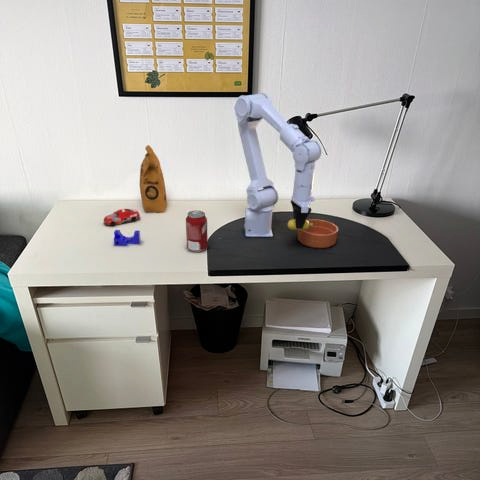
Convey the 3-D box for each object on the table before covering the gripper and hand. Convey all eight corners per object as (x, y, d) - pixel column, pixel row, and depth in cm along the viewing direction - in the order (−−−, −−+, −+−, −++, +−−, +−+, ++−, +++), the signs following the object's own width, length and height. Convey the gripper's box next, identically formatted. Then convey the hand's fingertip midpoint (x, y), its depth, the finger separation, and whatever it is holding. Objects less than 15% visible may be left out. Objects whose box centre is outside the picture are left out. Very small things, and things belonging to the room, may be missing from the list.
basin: (300, 249, 146) (302, 235, 143) (294, 232, 157) (296, 219, 154) (339, 249, 147) (341, 235, 144) (331, 232, 157) (333, 219, 155)
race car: (107, 228, 154) (105, 217, 152) (101, 222, 158) (100, 212, 156) (142, 220, 160) (140, 210, 158) (136, 215, 164) (135, 205, 162)
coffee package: (140, 213, 166) (133, 153, 153) (142, 201, 176) (136, 144, 163) (166, 213, 167) (162, 153, 154) (167, 201, 177) (163, 144, 164)
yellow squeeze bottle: (287, 231, 140) (288, 221, 138) (286, 227, 143) (287, 217, 141) (312, 232, 141) (313, 222, 139) (310, 227, 143) (312, 217, 141)
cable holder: (114, 245, 143) (112, 234, 141) (116, 241, 146) (115, 229, 144) (139, 246, 144) (137, 235, 141) (141, 241, 146) (139, 230, 144)
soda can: (199, 255, 140) (198, 219, 133) (182, 249, 143) (181, 214, 136) (211, 247, 145) (211, 212, 138) (195, 242, 148) (194, 208, 141)
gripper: (320, 192, 127) (314, 235, 135) (312, 176, 139) (307, 216, 147) (296, 191, 127) (292, 235, 135) (290, 175, 139) (286, 216, 147)
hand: (298, 225), depth 141 cm, fingers closed on yellow squeeze bottle, 3 cm apart
